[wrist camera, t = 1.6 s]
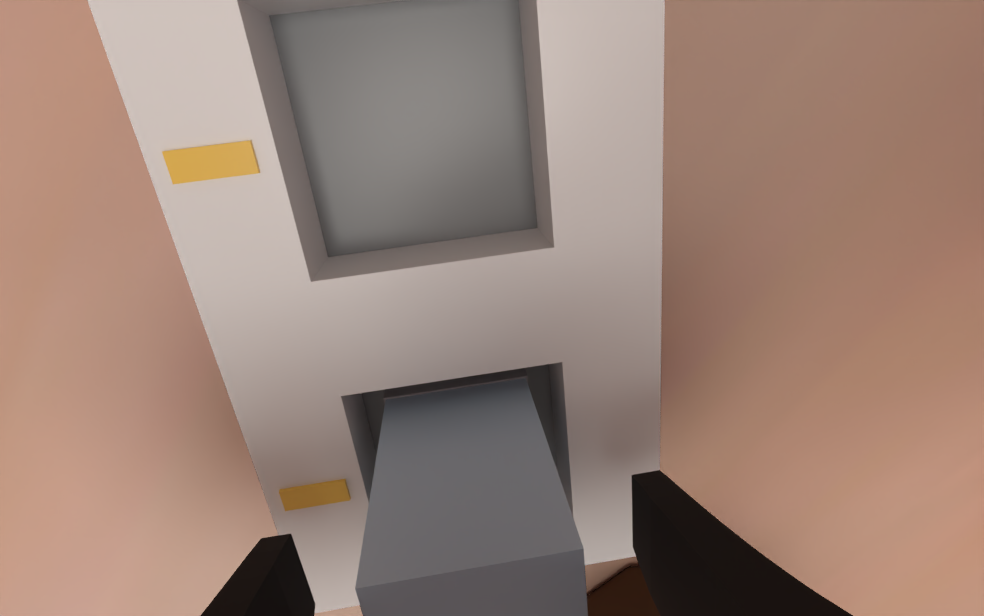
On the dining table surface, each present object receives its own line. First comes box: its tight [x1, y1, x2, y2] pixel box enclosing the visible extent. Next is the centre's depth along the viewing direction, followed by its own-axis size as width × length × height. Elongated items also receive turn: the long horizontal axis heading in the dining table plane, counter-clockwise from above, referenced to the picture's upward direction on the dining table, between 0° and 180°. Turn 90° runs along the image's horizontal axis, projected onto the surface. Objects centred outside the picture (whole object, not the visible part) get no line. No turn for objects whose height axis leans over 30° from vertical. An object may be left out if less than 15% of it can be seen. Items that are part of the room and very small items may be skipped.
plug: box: [355, 368, 588, 616], centre depth 12 cm, size 4×4×6 cm
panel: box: [88, 0, 665, 613], centre depth 13 cm, size 10×16×3 cm, turn 7°
